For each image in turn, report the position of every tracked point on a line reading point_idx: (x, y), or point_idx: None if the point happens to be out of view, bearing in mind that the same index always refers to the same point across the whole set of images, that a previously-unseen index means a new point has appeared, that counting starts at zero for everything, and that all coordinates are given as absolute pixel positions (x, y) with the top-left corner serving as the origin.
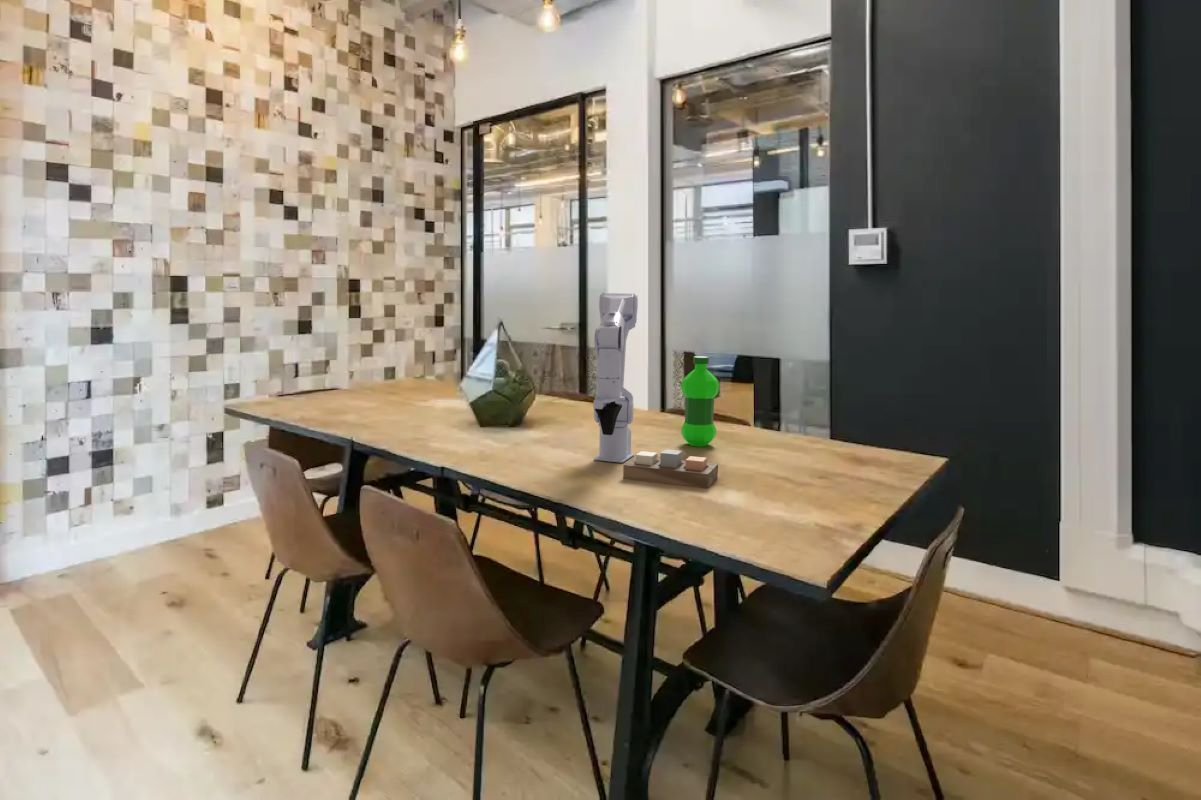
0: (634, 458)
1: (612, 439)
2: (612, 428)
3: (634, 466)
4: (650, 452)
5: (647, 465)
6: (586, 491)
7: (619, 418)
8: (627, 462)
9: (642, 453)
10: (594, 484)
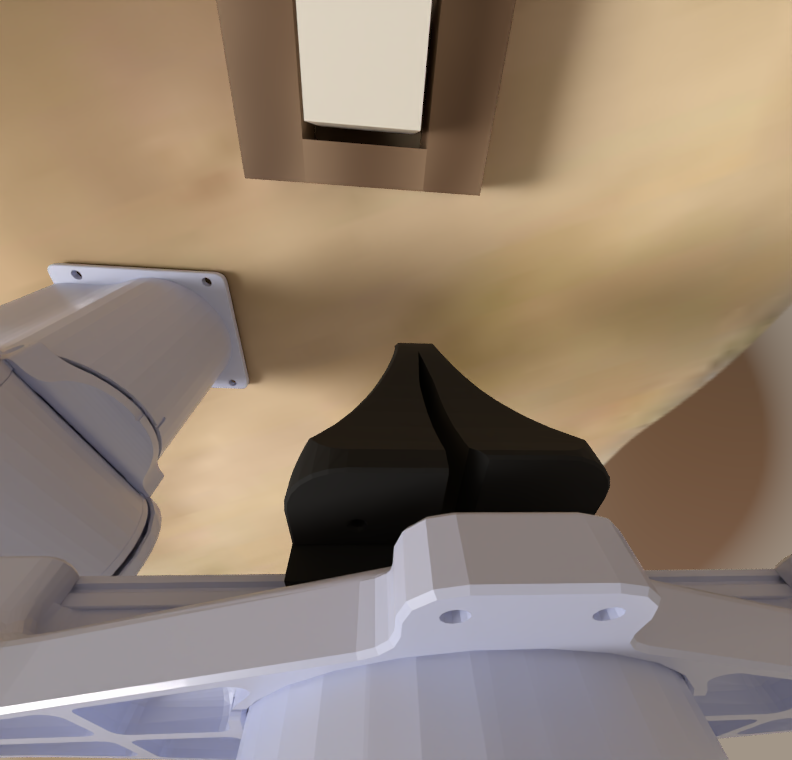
0: (317, 175)
1: (181, 368)
2: (444, 359)
3: (493, 116)
4: (310, 21)
5: (460, 17)
6: (671, 273)
7: (47, 421)
8: (421, 189)
9: (368, 88)
10: (574, 276)
